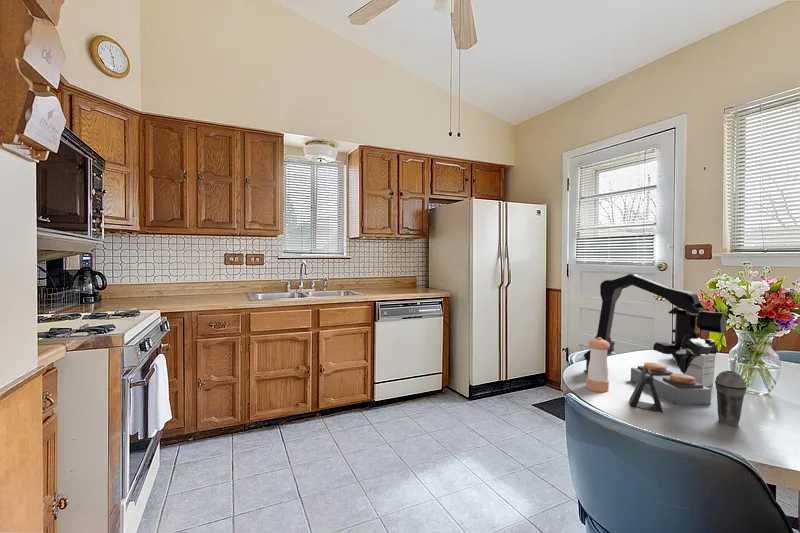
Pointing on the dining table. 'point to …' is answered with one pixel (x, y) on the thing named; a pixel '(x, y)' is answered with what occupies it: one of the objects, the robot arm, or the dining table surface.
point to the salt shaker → (598, 366)
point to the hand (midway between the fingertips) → (683, 372)
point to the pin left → (655, 367)
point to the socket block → (674, 388)
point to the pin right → (682, 379)
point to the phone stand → (638, 390)
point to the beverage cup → (730, 396)
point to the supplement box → (702, 369)
